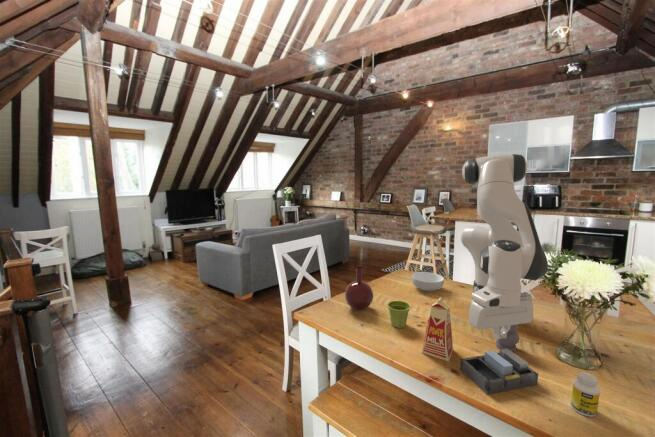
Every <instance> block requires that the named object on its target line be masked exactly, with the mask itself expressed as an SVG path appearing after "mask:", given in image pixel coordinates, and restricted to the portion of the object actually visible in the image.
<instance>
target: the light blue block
mask: <svg viewBox="0 0 655 437" xmlns="http://www.w3.org/2000/svg"><path fill="white" fill-rule="evenodd" d="M497 353H498V352H495V351H494V350H488V351H485V352H484V355H485V359H484V361H485V362H486V363H487V364H488V365H490V366H491V367H492V368H493V369H495V370H496V371H497V372H498V373H499V374H501V375H502V376H503V377H505V376H510V375H512V371H513V365H512V364H510V363H509V362H508V361H506V360H505V359H504V358H502V357H501V356H500V355H498V354H497Z"/></svg>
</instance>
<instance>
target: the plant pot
mask: <svg viewBox="0 0 655 437" xmlns="http://www.w3.org/2000/svg"><path fill="white" fill-rule="evenodd" d="M411 306H412V305H411V304H410V303H409V302H406V301H402V300H391V301H389V302H388V303H387V308H388V310H389V316H390V317H389V318H390V324H391V326H393V327H394V328H396V329H403V328H404V327H406V326H407V322H408V321H407V320H408V316H409V311H410V310H411V308H412V307H411Z"/></svg>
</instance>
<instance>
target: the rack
mask: <svg viewBox="0 0 655 437" xmlns="http://www.w3.org/2000/svg"><path fill="white" fill-rule="evenodd" d="M496 353H497V354H498V355H500V356H501V357H502V358H504V359H505V360H506V361H508V362H509V363H510V364H512V365H513V371H512V375H510V376H505V377H503V376H502V375H501V374H499V373H498V372H497V371H496V370H495V369H493V368H492V367H491V366H490V365H488V364H487V363H486V362H485V361H484V359H485V354H484V355H477V356H471V357H470V356H469V357H464V358H460V365H459V367H460V368H459V369H460V370H461V371H462V373H464V374H465V375H466V376H467V377H468V378H469V379H470V380H471V381H472V382H473V383H474V384H476V385H477V387H479V389H480V390H482V392H484V393H485V394H486V395H490V394H496V393H501V392H507V391H511V390H516V389H521V388H522V389H523V388H528V387H532V386H536V385H538V383H539V382H538V380H539V373H538V372H536V371H535V370H534V369H533V368H530V367H529V362H528V361H526V360H525V359H523V358H522V357H520V356H519V355H517V354H516V352H512V351H510V350H509V349H501V350H500V349H499V352H496Z"/></svg>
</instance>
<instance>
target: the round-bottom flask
mask: <svg viewBox="0 0 655 437" xmlns="http://www.w3.org/2000/svg"><path fill="white" fill-rule="evenodd" d="M355 270H356V274H355V275H356V276H355V278H356V279H355V281H351V283H349V284H348V285H347V287H346V288H345V292H344V297H345V301H346V303H347V305H348V306H349V307H350V308H352V309H354V310H359V311H362V310H365V309H367V308H369V306H371V304H372V302H373V300H374V291H373V288H372V287H371V285H370V284H368V283H367V282H366V281H363V266H356V267H355Z"/></svg>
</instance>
